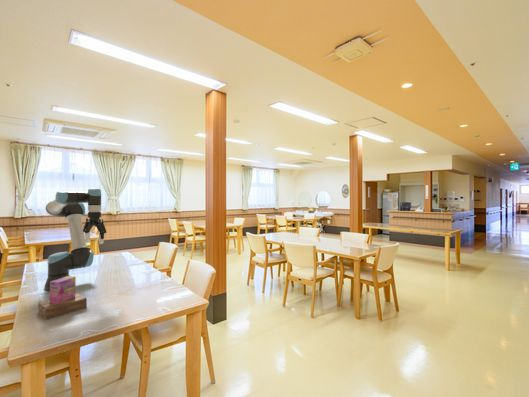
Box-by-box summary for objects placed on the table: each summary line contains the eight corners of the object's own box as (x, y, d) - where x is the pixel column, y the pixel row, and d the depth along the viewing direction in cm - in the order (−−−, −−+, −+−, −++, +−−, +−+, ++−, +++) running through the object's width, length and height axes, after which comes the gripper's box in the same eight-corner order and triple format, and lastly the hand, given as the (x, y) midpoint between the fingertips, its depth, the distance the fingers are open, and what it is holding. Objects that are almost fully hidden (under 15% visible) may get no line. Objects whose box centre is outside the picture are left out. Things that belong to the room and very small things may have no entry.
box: (58, 304, 140) (58, 282, 140) (49, 303, 141) (49, 281, 141) (75, 297, 150) (76, 276, 150) (67, 296, 152) (67, 275, 152)
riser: (38, 313, 143) (38, 302, 143) (77, 302, 157) (77, 292, 157) (46, 320, 135) (46, 308, 135) (86, 308, 149) (86, 298, 149)
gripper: (76, 211, 179) (76, 242, 179) (101, 212, 169) (101, 245, 169) (87, 211, 186) (87, 241, 186) (112, 211, 176) (112, 243, 176)
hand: (94, 243), depth 178 cm, fingers open, 13 cm apart
